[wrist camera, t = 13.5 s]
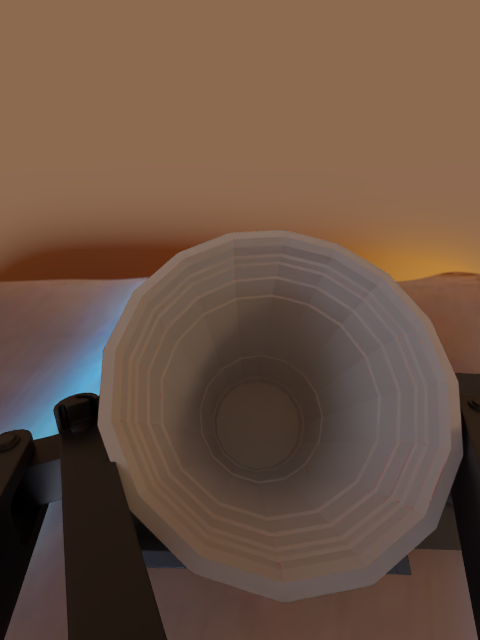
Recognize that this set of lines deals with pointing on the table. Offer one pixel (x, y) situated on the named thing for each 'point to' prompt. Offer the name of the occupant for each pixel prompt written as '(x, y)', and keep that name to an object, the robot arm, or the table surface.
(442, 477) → the plastic cup
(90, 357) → the table surface
